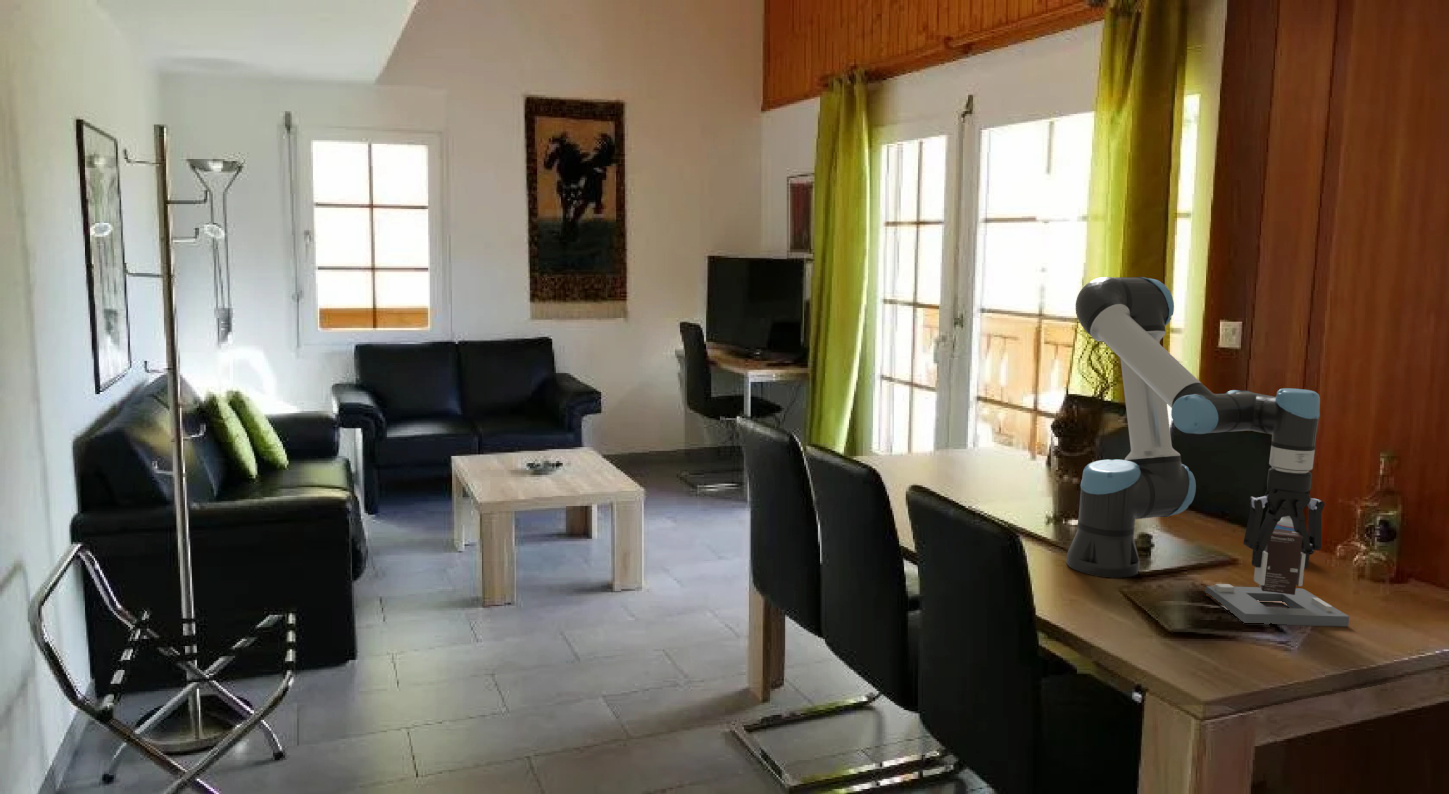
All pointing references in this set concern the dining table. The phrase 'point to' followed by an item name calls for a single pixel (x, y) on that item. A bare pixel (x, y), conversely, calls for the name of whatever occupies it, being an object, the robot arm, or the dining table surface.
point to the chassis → (1300, 609)
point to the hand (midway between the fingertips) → (1277, 583)
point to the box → (1282, 561)
